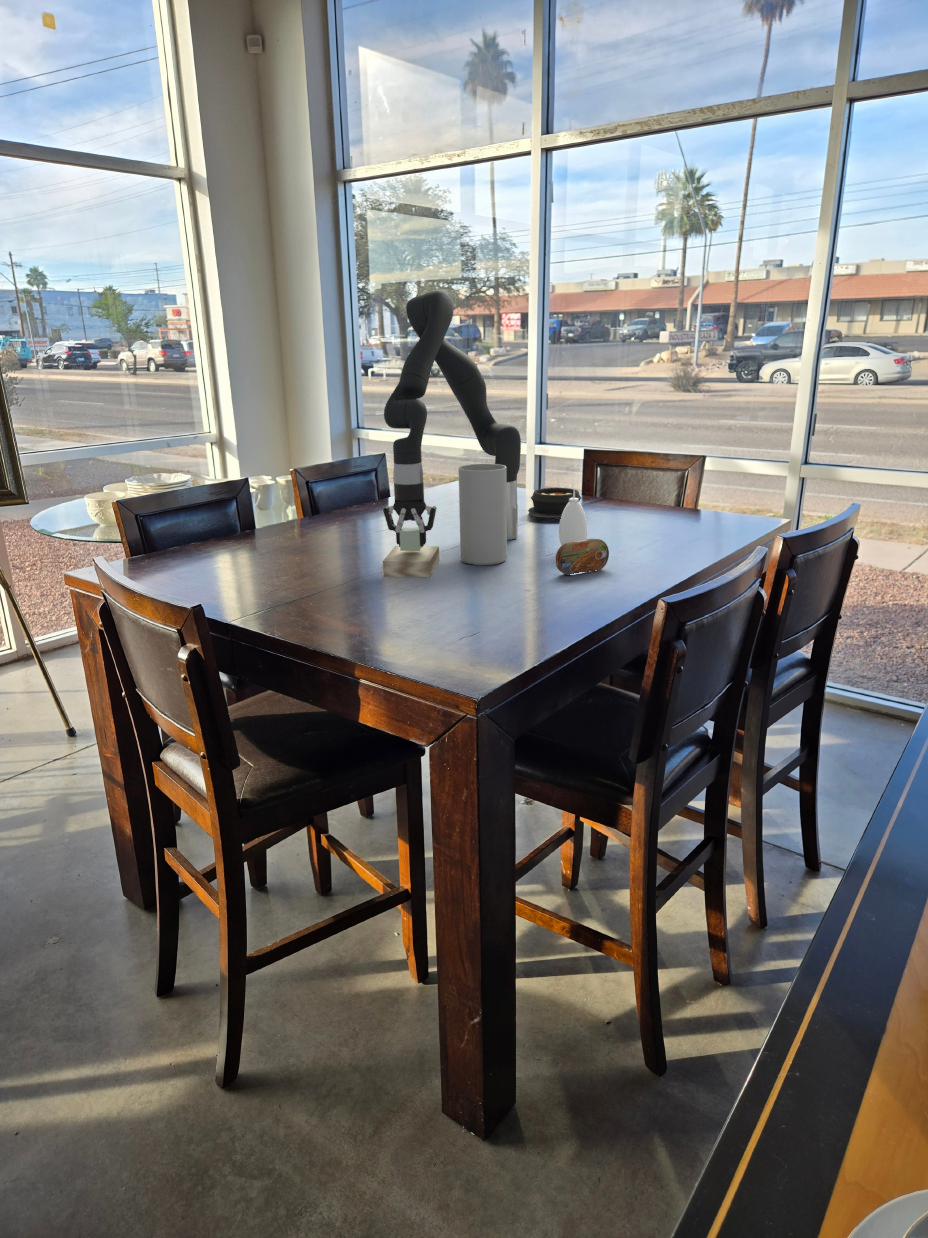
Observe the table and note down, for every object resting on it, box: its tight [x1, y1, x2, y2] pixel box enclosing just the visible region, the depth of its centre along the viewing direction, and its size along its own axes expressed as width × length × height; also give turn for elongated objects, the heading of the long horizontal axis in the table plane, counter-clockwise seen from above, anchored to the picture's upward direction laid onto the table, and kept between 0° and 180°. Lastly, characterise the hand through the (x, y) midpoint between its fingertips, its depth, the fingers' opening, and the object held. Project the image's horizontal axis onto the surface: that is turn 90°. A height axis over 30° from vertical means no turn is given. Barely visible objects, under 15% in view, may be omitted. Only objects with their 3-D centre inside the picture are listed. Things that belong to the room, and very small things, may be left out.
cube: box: [400, 526, 422, 551], centre depth 207 cm, size 5×5×5 cm
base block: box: [382, 545, 440, 578], centre depth 208 cm, size 12×16×4 cm
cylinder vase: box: [458, 463, 508, 566], centre depth 211 cm, size 12×12×25 cm
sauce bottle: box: [558, 488, 589, 546], centre depth 217 cm, size 8×8×18 cm
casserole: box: [527, 487, 582, 519], centre depth 267 cm, size 25×19×8 cm
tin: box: [555, 538, 610, 576], centre depth 201 cm, size 15×3×8 cm, turn 117°
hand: (411, 545), depth 207 cm, fingers closed on cube, 5 cm apart
